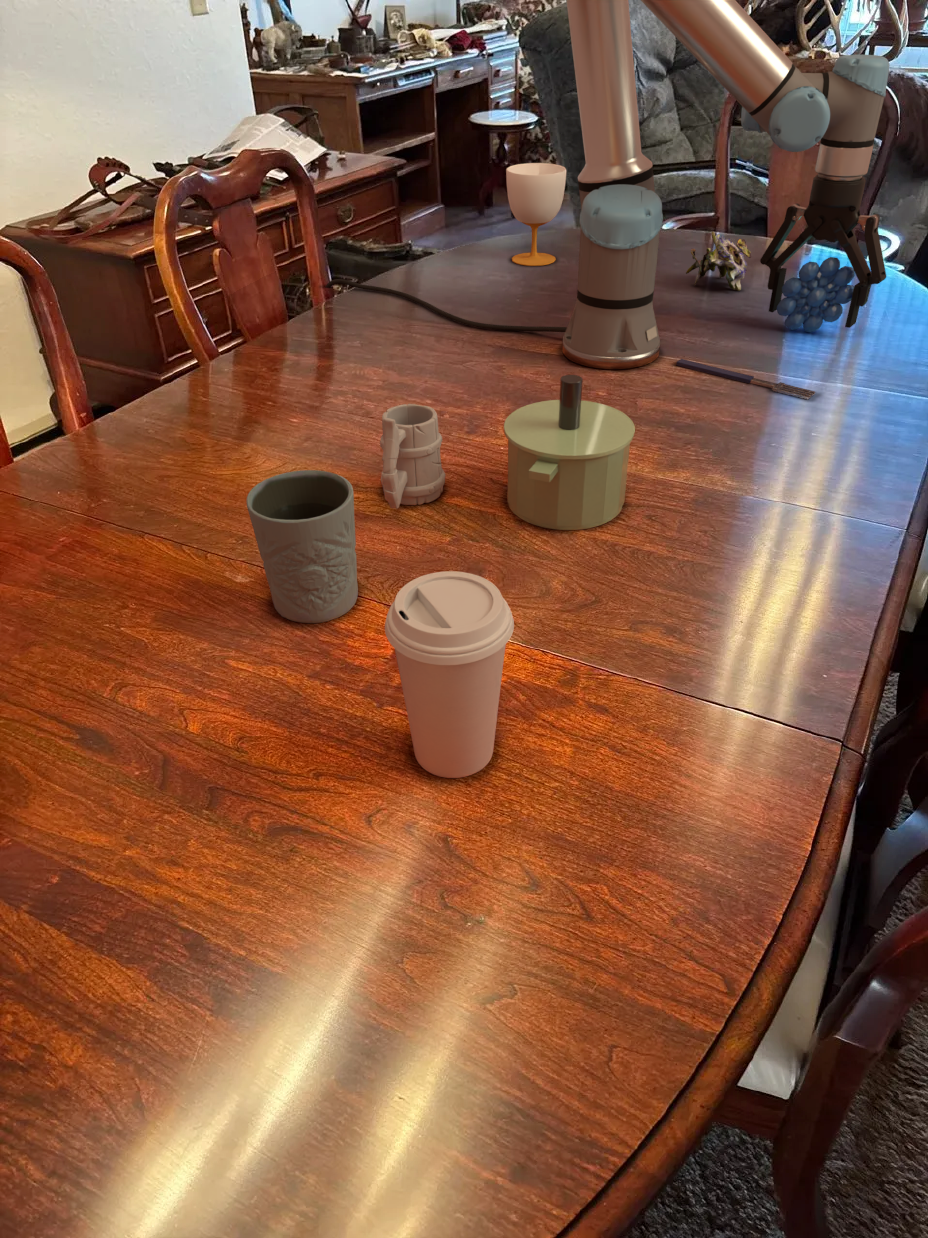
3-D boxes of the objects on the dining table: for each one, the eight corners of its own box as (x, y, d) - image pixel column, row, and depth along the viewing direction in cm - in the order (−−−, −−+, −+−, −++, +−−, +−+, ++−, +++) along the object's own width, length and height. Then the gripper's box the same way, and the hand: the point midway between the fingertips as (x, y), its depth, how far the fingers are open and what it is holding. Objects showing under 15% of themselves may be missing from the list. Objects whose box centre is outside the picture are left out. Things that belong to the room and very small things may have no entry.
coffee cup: (394, 714, 79) (381, 569, 70) (504, 706, 80) (506, 561, 71) (397, 797, 72) (383, 646, 63) (519, 788, 72) (522, 636, 63)
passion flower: (730, 318, 174) (749, 277, 162) (674, 304, 175) (689, 262, 163) (743, 270, 177) (762, 226, 166) (688, 256, 178) (703, 212, 167)
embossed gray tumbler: (321, 639, 88) (306, 531, 81) (242, 608, 92) (221, 503, 85) (383, 587, 95) (375, 483, 88) (308, 560, 99) (293, 459, 92)
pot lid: (483, 450, 101) (483, 393, 97) (530, 400, 111) (532, 347, 107) (612, 474, 96) (617, 415, 92) (648, 419, 106) (655, 364, 103)
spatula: (674, 366, 141) (674, 362, 141) (682, 361, 143) (682, 357, 143) (807, 399, 130) (808, 395, 130) (815, 393, 132) (816, 389, 132)
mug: (453, 480, 113) (451, 387, 106) (421, 528, 104) (416, 430, 97) (395, 472, 115) (389, 380, 108) (359, 518, 106) (349, 422, 99)
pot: (480, 527, 104) (479, 455, 99) (538, 456, 118) (541, 389, 112) (596, 552, 99) (602, 477, 94) (642, 475, 113) (650, 406, 108)
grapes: (841, 324, 155) (858, 250, 148) (848, 338, 149) (866, 262, 142) (770, 321, 157) (783, 248, 149) (773, 335, 151) (788, 259, 144)
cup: (501, 267, 185) (502, 174, 175) (508, 251, 194) (509, 162, 184) (559, 268, 183) (564, 175, 173) (564, 252, 192) (568, 163, 182)
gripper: (932, 179, 135) (894, 325, 148) (773, 162, 148) (751, 297, 160) (915, 189, 130) (878, 338, 143) (753, 170, 143) (732, 309, 156)
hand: (811, 317), depth 152 cm, fingers open, 12 cm apart
